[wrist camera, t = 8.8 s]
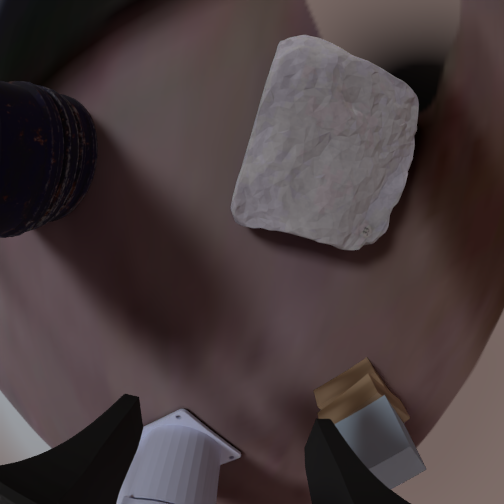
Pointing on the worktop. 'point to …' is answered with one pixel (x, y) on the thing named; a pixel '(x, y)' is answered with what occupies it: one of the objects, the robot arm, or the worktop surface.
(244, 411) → the worktop surface
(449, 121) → the worktop surface
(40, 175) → the storage jar
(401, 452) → the blue block
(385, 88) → the stone block
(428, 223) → the worktop surface
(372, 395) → the tower top slab
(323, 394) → the tower bottom slab
